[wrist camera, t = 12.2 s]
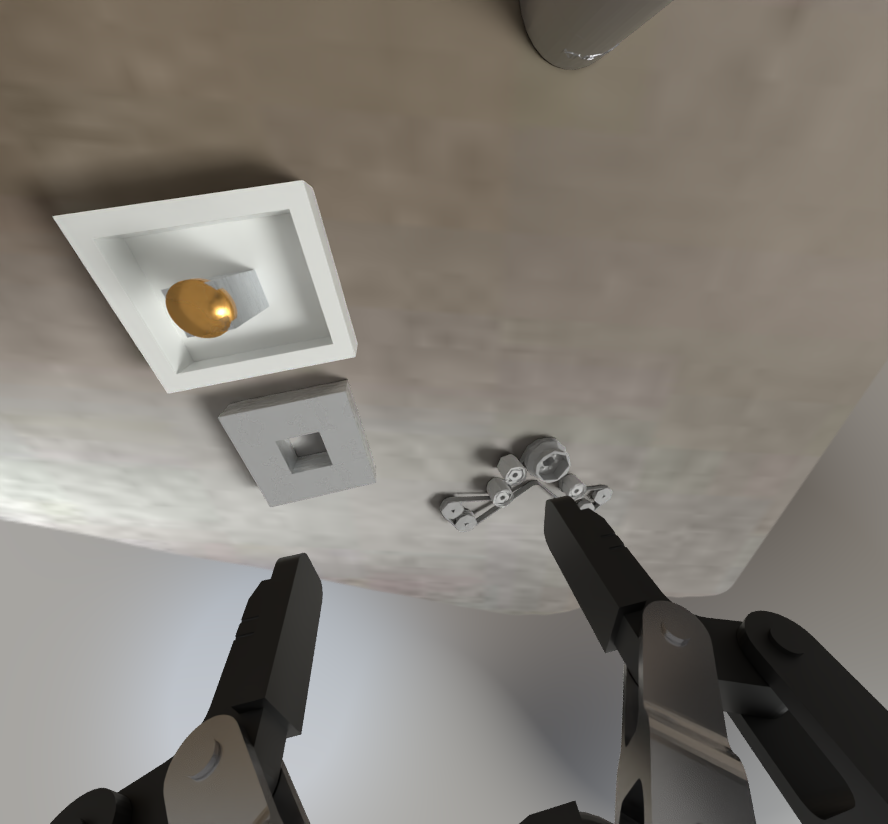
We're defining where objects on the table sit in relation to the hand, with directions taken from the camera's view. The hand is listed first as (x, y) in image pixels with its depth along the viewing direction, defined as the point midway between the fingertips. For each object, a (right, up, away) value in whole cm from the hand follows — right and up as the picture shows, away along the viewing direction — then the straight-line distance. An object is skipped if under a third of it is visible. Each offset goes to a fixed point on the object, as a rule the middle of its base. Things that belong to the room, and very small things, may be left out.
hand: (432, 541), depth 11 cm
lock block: (-15, +1, +25) cm, 29 cm away
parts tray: (-17, +15, +17) cm, 29 cm away
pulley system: (+13, -5, +36) cm, 39 cm away
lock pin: (-17, +15, +16) cm, 28 cm away
